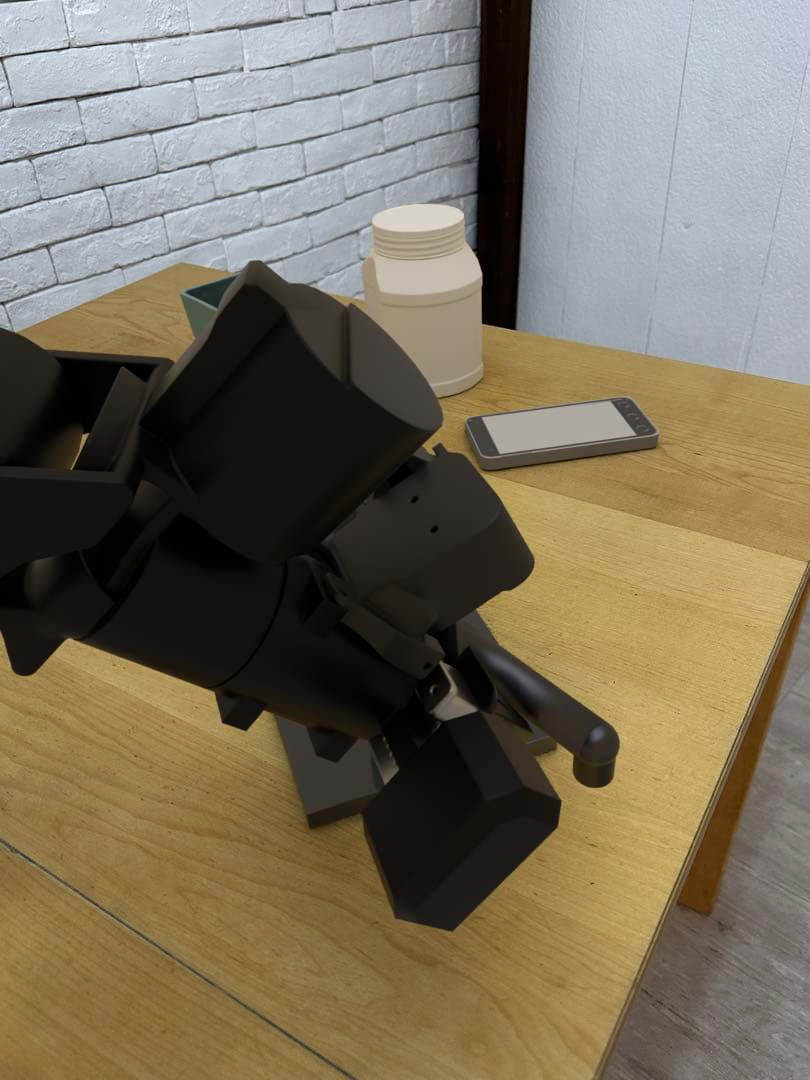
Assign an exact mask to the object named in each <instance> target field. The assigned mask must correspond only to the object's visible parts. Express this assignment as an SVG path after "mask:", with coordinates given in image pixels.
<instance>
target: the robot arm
mask: <svg viewBox="0 0 810 1080" xmlns="http://www.w3.org/2000/svg"><path fill="white" fill-rule="evenodd" d="M238 273H239V275H238V276H237V277H236V278H235V279H234V281H233V282H232V283H231V284H230V286H229V287H228V288H227V290H226V291H225V293H224V295H223V297H222V299H221V301H220V304H219V306H218V308H217V311H216V313H215V314H214V316H213V317H212V319H211V320H210V322H209V323H208V324H207V325H206V326H205V328H204V329H203V330H202V331H201V333H200V334H199V335H198V336H197V337H196V339H195V338H194V339H193V341H192V342H191V343H190V344H189V346H188V347H187V348H186V349H185V350H184V352H183V353H182V354H181V355H180V357H179V358H178V359H177V360H176V362H175V361H174V360H173V359H171V358H170V357H165V356H164V357H163V356H151V355H149V356H148V355H135V354H120V353H108V352H107V353H106V352H94V351H93V352H91V351H80V350H79V351H78V350H77V351H76V350H64V349H63V350H62V349H48V348H47V349H46V348H43V347H42V346H40V345H38V344H37V343H35V342H34V341H33V340H31V339H30V338H27V337H26V336H25V335H22V334H20V333H18V332H15V331H12V330H9V329H7V328H4V327H1V326H0V634H1V636H2V639H3V643H4V646H5V651H6V654H7V655H6V656H7V657H8V660H9V663H10V669H11V670H12V673H14V674H15V675H17V676H20V677H31V676H33V675H34V674H36V673H37V672H38V671H39V670H40V669H41V667H43V665H44V664H45V663H46V662H47V661H48V660H49V659H50V658H51V656H52V655H53V654H54V653H55V652H57V650H58V649H59V648H60V647H61V646H62V645H63V644H64V643H65V641H67V640H68V639H71V640H72V641H75V642H78V643H80V644H83V645H86V646H88V647H90V648H94V649H96V650H99V651H101V652H103V653H107V654H110V655H113V656H115V657H118V658H121V659H123V660H126V661H129V662H131V663H134V664H137V665H140V666H143V667H145V668H148V669H151V670H154V671H156V672H159V673H161V674H164V675H167V676H170V677H172V678H175V679H177V680H180V681H182V682H186V683H188V684H191V685H193V686H196V687H199V688H202V689H205V690H207V691H210V692H213V693H214V696H215V700H216V705H217V708H218V712H219V717H220V721H221V723H222V724H224V725H226V726H229V727H232V728H235V729H237V730H241V731H244V732H247V731H248V730H249V729H250V728H251V727H252V726H253V725H254V724H255V722H256V721H257V720H258V719H259V717H260V716H261V715H262V714H263V713H264V712H267V713H269V714H272V715H273V714H275V715H277V716H280V717H283V718H285V719H288V720H291V721H294V722H296V723H299V724H302V725H304V726H306V728H307V731H308V734H309V737H310V740H311V743H312V746H313V748H314V751H315V754H316V756H318V757H321V758H324V759H326V760H329V761H332V762H335V763H338V762H339V760H340V759H341V758H342V757H343V756H344V755H345V754H346V753H347V751H348V750H349V749H350V748H351V747H352V746H353V745H354V744H355V742H356V741H357V740H358V739H359V738H360V739H363V740H366V741H367V743H368V745H369V748H370V750H371V753H372V755H373V757H374V760H375V762H376V765H377V767H378V769H379V772H380V774H381V777H382V779H383V781H384V784H385V786H384V787H383V788H382V789H381V790H380V791H379V792H378V793H377V794H376V795H375V797H374V798H373V799H372V800H371V801H370V802H369V803H368V804H367V805H366V806H365V807H364V808H363V810H362V811H361V812H360V815H361V822H362V829H363V835H364V839H365V841H366V843H367V846H368V849H369V852H370V854H371V855H370V856H371V857H372V860H373V863H374V865H375V868H376V871H377V873H378V876H379V879H380V882H381V884H382V887H383V889H384V892H385V895H386V897H387V901H388V903H389V906H390V908H391V911H392V914H393V916H394V919H395V920H399V921H403V922H408V923H412V924H415V925H416V924H417V925H420V926H425V927H429V928H434V929H437V930H438V929H439V930H443V931H447V932H451V933H453V932H454V931H456V930H457V928H459V926H460V925H461V924H462V923H463V922H464V921H465V920H466V919H467V918H468V917H469V916H470V915H472V914H473V912H474V911H475V910H476V909H477V908H479V906H480V905H481V904H482V903H483V902H484V901H485V900H486V899H487V898H489V896H491V894H492V893H494V891H495V890H497V888H498V887H499V886H501V885H502V884H503V883H504V881H506V880H507V879H508V878H509V876H511V874H513V873H514V871H516V870H517V869H518V868H519V867H520V865H522V864H523V862H525V861H526V860H527V859H528V858H529V856H531V855H532V854H533V853H534V852H535V851H536V850H537V849H538V848H539V847H540V846H541V845H542V844H543V843H544V842H545V840H547V839H548V838H549V837H550V836H551V835H552V834H553V833H554V832H555V831H556V830H557V829H558V828H559V823H560V815H561V808H562V802H563V801H562V799H561V797H560V796H559V794H558V792H557V791H556V789H555V787H554V786H553V784H552V783H551V781H550V780H549V777H548V776H547V775H546V773H545V771H544V770H543V768H542V767H541V765H540V762H539V761H538V760H537V758H536V757H535V756H534V755H533V753H532V752H531V750H530V748H529V747H528V745H527V742H528V741H529V740H530V739H531V738H532V737H533V735H534V732H533V730H532V729H531V727H530V726H529V724H528V722H527V721H526V719H525V718H523V717H522V716H521V715H520V714H519V713H518V712H517V711H516V710H515V709H514V708H513V707H512V706H511V705H510V704H509V703H508V702H507V701H506V700H505V699H504V698H503V697H502V696H501V695H500V694H499V693H498V692H497V691H496V688H495V686H494V684H493V682H492V681H491V679H490V677H489V676H488V674H487V673H486V671H485V669H484V668H483V666H482V664H481V663H480V661H479V660H478V658H477V656H476V655H475V653H474V651H473V650H472V648H471V647H470V646H467V647H466V649H465V650H464V651H463V652H462V653H461V654H459V649H458V636H457V624H456V622H458V621H459V620H461V619H462V618H464V617H465V616H467V615H468V614H470V613H471V612H473V611H474V610H477V609H478V608H480V607H482V606H483V605H484V604H486V603H487V602H489V601H490V600H492V599H494V598H495V597H497V596H498V595H500V594H502V593H503V592H511V591H513V590H514V589H516V588H517V587H519V586H520V585H522V584H523V583H524V582H525V581H526V580H528V578H530V576H531V574H532V573H533V571H534V568H535V566H536V565H535V564H536V563H535V560H536V559H535V557H534V554H533V552H532V551H531V549H530V547H529V546H528V544H527V542H526V541H525V538H524V537H523V535H522V534H521V532H520V530H519V527H517V525H516V522H515V521H514V520H513V518H512V516H511V514H510V513H509V511H508V509H507V508H506V505H505V504H504V503H503V500H502V499H501V498H500V496H499V495H498V493H497V492H496V491H495V490H494V489H493V487H492V486H491V485H490V484H489V483H488V481H487V480H486V478H485V477H484V476H483V475H482V474H481V472H480V471H479V470H478V469H477V467H475V466H474V464H473V463H472V462H471V460H470V459H469V457H467V456H466V455H465V454H464V453H462V452H461V453H460V452H456V451H455V452H453V451H448V449H446V447H445V446H444V445H443V443H442V442H439V443H437V444H435V445H434V446H432V447H431V449H432V451H433V453H434V454H432V453H429V451H428V450H427V449H426V447H424V446H423V445H425V444H426V442H427V441H429V439H430V438H432V437H433V436H434V435H435V434H436V433H437V432H438V431H439V430H440V429H441V428H442V426H443V423H444V413H443V412H444V411H443V409H442V406H441V404H440V401H439V398H437V397H436V395H435V393H434V391H433V390H432V388H431V386H430V385H429V383H428V381H427V380H426V378H425V377H424V376H423V374H422V373H421V371H420V370H419V369H418V367H417V366H416V365H415V363H414V362H413V361H412V360H411V359H410V357H409V356H408V355H407V354H406V353H405V351H404V350H403V349H402V348H401V347H400V346H399V345H398V344H397V343H396V342H395V341H394V340H393V339H392V338H391V336H390V335H389V334H388V333H387V332H386V331H385V330H384V329H382V328H381V327H380V326H379V325H378V324H377V323H376V322H375V321H374V320H373V319H372V318H370V317H369V316H368V315H367V314H366V312H365V311H363V310H362V309H361V308H360V307H358V306H357V305H356V304H354V303H353V302H349V304H348V305H347V306H346V305H345V304H343V303H342V302H341V301H339V300H338V299H336V298H335V297H334V296H332V295H330V294H328V293H326V292H324V291H322V290H320V289H318V288H316V287H314V286H311V285H308V284H305V283H300V282H291V284H289V283H288V282H289V281H288V282H286V281H287V280H286V279H284V278H283V277H282V276H280V274H278V273H277V272H276V271H274V270H273V269H272V268H271V267H269V266H268V265H267V264H266V263H265V262H264V261H262V259H261V260H260V259H255V260H254V259H253V260H249V261H248V263H246V265H245V266H244V267H243V268H242V270H241V271H240V272H238ZM285 280H286V281H285ZM87 434H88V435H87ZM83 435H87V437H86V439H85V441H84V443H83V446H82V445H81V444H82V440H83ZM81 447H82V448H81ZM80 448H81V449H80Z"/></svg>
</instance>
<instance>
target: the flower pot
mask: <svg viewBox="0 0 810 1080" xmlns="http://www.w3.org/2000/svg"><path fill="white" fill-rule="evenodd" d="M239 273H240V272H237V273H234V274H231V275H228V276H225V277H221V278H218V279H216V280H212V281H209V282H206V283H202V284H198V285H195V286H192V287H188V288H185V289H183V290H181V291H179V292H178V293H179V297H180V299H181V302H182V305H183V307H184V308H183V309H184V311H185V314H186V318H187V320H188V323H189V326H190V329H191V332H192V335H193V338H194V340H195V339H196V337H197V336H198V335H199V334H200V333H201V331H202V330H203V329H204V328H205V326H206V325H207V324H208V323H209V322H210V320H211V319H212V317H213V316H214V314H215V313H216V311H217V308H218V306H219V304H220V301H221V299H222V297H223V295H224V293H225V291H226V290H227V288H228V287H229V286H230V284H231V283H232V282H233V281H234V279H235V278H236V277H237V276H238V275H239ZM284 280H285V281H286V282H288V283H289V284H291V283H292V282H290V281H289V280H286V279H284Z"/></svg>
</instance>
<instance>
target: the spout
mask: <svg viewBox="0 0 810 1080" xmlns="http://www.w3.org/2000/svg"><path fill="white" fill-rule="evenodd" d="M456 624H457V636H458V649H459V654H461V653H462V652H463V651H464V650H465V649H466V647H467V646H470V647H471V648H472V650H473V651H474V653H475V655H476V656H477V658H478V660H479V661H480V663H481V664H482V666H483V668H484V669H485V671H486V673H487V674H488V676H489V677H490V679H491V681H492V682H493V684H494V686H495V688H496V691H497V692H498V693H499V694H500V695H501V696H502V697H503V698H504V699H505V700H506V701H507V702H508V703H509V704H510V705H511V706H512V707H513V708H514V709H515V710H516V711H517V712H518V713H519V714H521V715H522V716H523V717H525V718H526V719H527V720H529V721H530V722H531V723H532V724H534V725H535V726H536V727H538V728H539V729H540V730H542V731H543V732H544V733H545V734H547V735H548V736H549V737H551V738H552V739H553V740H555V741H556V742H557V745H560V746H561V747H563V748H564V749H565V750H566V751H568V752H569V754H571V755H573V756H572V769H571V770H572V775H573V776H574V778H575V781H577V782H578V783H579V784H581V786H583V787H586V788H590V789H601V788H605V787H606V786H608V785H610V784H611V783H612V782H613V780H614V777H615V771H616V761H617V756H618V754H619V751H620V748H621V740H620V736H619V733H618V731H617V730H616V729H615V727H614V726H613V725H612V724H610V723H609V722H608V721H607V720H605V719H604V718H602V716H599V714H597V713H595V712H594V711H592V710H591V708H589V707H587V706H585V705H584V704H583V703H582V702H580V701H579V700H577V699H575V697H573V696H571V695H570V694H569V693H568V692H566V691H565V690H564V689H562V688H561V687H559V686H557V685H556V684H555V683H553V682H552V681H551V680H549V678H547V677H545V676H543V675H542V674H541V673H540V672H538V671H537V670H535V669H534V668H532V667H531V666H529V665H528V664H527V663H525V662H524V661H523V660H522V659H520V658H519V657H517V656H516V655H515V654H513V653H511V652H510V651H509V650H507V649H506V648H504V647H503V646H502V645H500V643H498V644H497V643H496V642H495V641H493V640H492V639H490V638H489V637H488V636H486V635H485V634H483V633H482V632H481V631H479V630H478V629H476V628H475V627H474V626H472V625H471V624H469V623H468V622H467V621H465V620H464V619H461V620H459V621H458V622H456Z"/></svg>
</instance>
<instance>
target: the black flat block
mask: <svg viewBox="0 0 810 1080" xmlns="http://www.w3.org/2000/svg"><path fill="white" fill-rule="evenodd" d="M462 619H464V620H465V621H467V622H468V623H469V624H471V625H472V626H474V627H475V628H476V629H478V630H479V631H481V632H482V633H483V634H485V635H486V636H488V637H489V638H490V639H492V640H493V641H495V642H496V643H497V644H499V642H498V640H497V638H495V636H494V634H493V633H492V632H491V631H492V630H491V629H490V628H489V627H488V625H487V624H486V622H485V621H484V619H483V618H482V616H481V614H480V613H479V611H478V610H477V609H476V610H474V611H473V612H471V613H470V614H468V615H467V616H465V617H464V618H462ZM272 715H273V718H274V720H275V724H276V727H277V730H278V734H279V736H280V740H281V743H282V746H283V750H284V752H285V756H286V759H287V761H288V765H289V768H290V772H291V774H292V775H291V776H292V778H293V782H294V784H295V788H296V791H297V794H298V797H299V801H300V803H301V808H302V810H303V814H304V816H305V818H306V819H305V821H306V823H307V826H308V829H314V828H317V827H320V826H323V825H327V824H329V823H332V822H335V821H338V820H342V819H345V818H347V817H352V816H354V815H356V814H361V811H362V810H363V808H364V807H365V806H366V805H367V804H368V803H369V802H370V801H371V800H372V799H373V798H374V797H375V795H376V794H377V793H378V792H379V791H380V790H381V789H382V788H383V787H384V786H385V784H384V781H383V779H382V777H381V774H380V772H379V769H378V767H377V765H376V762H375V760H374V757H373V755H372V753H371V750H370V748H369V745H368V743H367V741H366V740H363V739H360V738H359V739H358V740H357V741H356V742H355V744H354V745H353V746H352V747H351V748H350V749H349V750H348V751H347V753H346V754H345V755H344V756H343V757H342V758H341V759H340V760H339V762H338V763H335V762H332V761H329V760H326V759H324V758H321V757H318V756H316V754H315V751H314V748H313V746H312V743H311V740H310V737H309V734H308V731H307V728H306V726H304V725H302V724H299V723H296V722H294V721H291V720H288V719H285V718H283V717H280V716H277V715H275V714H272ZM520 715H521V714H520ZM521 716H522V715H521ZM522 717H523V716H522ZM523 718H525V717H523ZM525 719H526V718H525ZM526 721H527V722H528V724H529V726H530V727H531V729H532V730H533V732H534V735H533V737H532V738H531V739H530V740H529V741H528V742H527V745H528V747H529V748H530V750H531V752H532V753H533V755H534V756H539V755H542V754H545V753H548V752H551V751H554V750H556V749H558V743H557V742H556V741H555V740H553V739H552V738H551V737H549V736H548V735H547V734H545V733H544V732H543V731H542V730H540V729H539V728H538V727H536V726H535V725H534V724H532V723H531V722H530V721H529V720H527V719H526Z"/></svg>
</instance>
